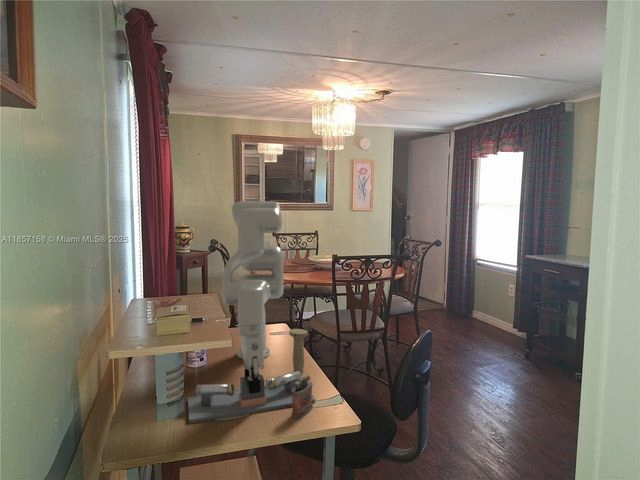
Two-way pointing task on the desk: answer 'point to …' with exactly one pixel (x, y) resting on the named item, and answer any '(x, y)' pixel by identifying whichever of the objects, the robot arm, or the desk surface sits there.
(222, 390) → the shaft
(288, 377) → the shaft
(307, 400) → the lighter
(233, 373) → the desk surface
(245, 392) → the block
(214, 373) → the desk surface
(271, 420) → the desk surface
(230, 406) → the base plate
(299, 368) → the handle
